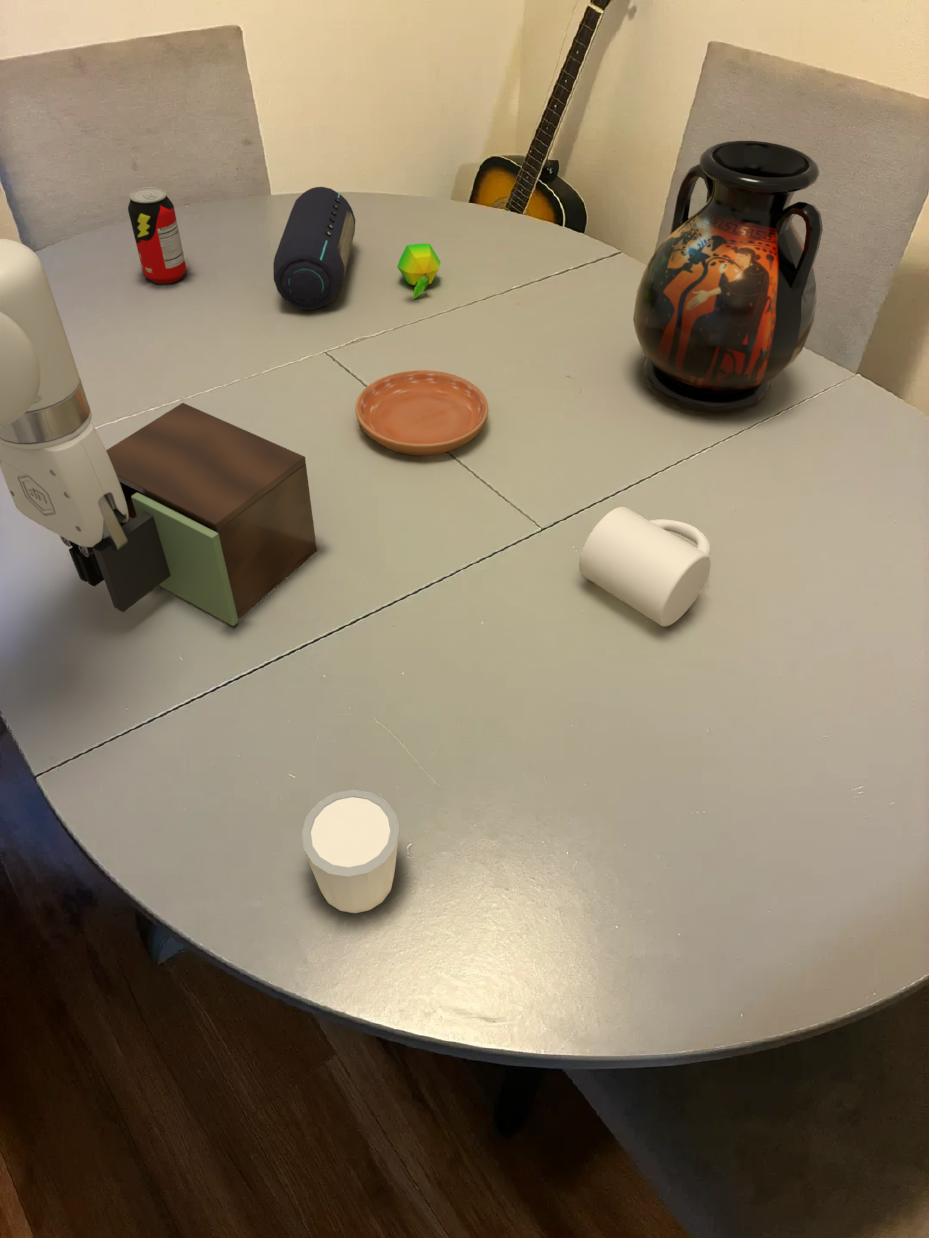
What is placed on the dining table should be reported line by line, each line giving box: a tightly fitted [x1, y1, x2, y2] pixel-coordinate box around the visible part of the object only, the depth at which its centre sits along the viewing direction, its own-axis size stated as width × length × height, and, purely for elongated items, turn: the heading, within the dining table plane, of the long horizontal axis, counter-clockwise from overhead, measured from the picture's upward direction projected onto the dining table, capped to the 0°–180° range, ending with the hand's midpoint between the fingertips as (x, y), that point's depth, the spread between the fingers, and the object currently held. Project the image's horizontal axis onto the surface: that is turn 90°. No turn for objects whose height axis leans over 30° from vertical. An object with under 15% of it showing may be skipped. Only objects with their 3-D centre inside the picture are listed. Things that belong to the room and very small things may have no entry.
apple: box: [396, 243, 441, 301], centre depth 132 cm, size 7×6×9 cm
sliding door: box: [92, 492, 239, 627], centre depth 81 cm, size 7×10×11 cm
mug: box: [578, 506, 712, 627], centre depth 87 cm, size 12×10×8 cm
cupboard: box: [106, 402, 318, 620], centre depth 87 cm, size 12×16×12 cm
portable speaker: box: [272, 186, 356, 310], centre depth 131 cm, size 25×10×10 cm, turn 179°
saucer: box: [354, 369, 489, 457], centre depth 108 cm, size 16×16×3 cm
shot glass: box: [301, 789, 400, 914], centre depth 65 cm, size 7×7×7 cm
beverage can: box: [127, 186, 187, 285], centre depth 129 cm, size 6×6×12 cm
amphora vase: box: [632, 140, 824, 416], centre depth 107 cm, size 22×22×28 cm
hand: (100, 574), depth 83 cm, fingers closed
